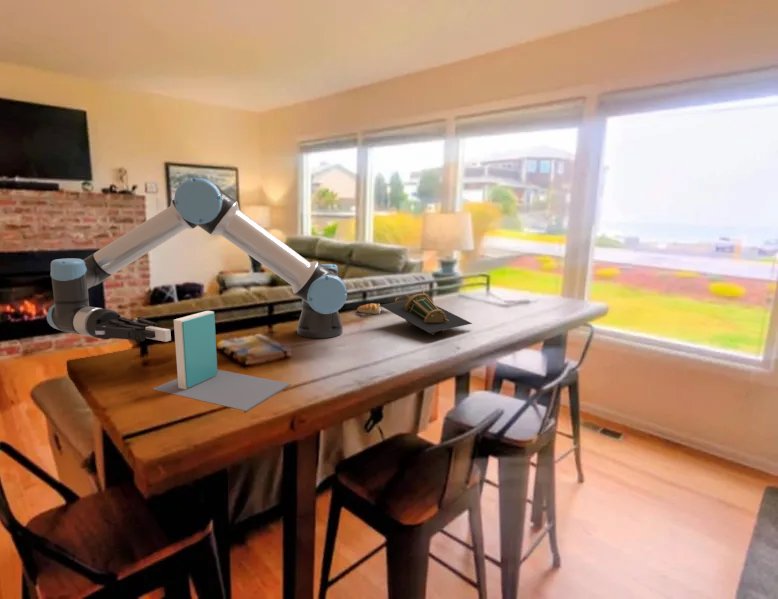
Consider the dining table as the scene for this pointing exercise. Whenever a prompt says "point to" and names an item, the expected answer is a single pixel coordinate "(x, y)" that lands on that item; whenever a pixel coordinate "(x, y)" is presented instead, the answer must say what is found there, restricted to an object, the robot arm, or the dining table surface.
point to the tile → (195, 348)
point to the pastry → (370, 308)
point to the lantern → (424, 313)
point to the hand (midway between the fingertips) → (168, 335)
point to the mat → (229, 390)
